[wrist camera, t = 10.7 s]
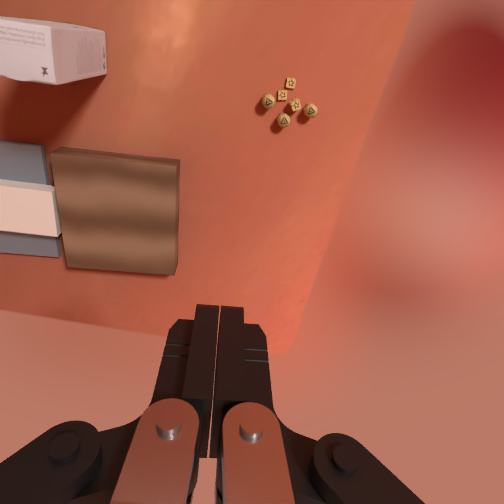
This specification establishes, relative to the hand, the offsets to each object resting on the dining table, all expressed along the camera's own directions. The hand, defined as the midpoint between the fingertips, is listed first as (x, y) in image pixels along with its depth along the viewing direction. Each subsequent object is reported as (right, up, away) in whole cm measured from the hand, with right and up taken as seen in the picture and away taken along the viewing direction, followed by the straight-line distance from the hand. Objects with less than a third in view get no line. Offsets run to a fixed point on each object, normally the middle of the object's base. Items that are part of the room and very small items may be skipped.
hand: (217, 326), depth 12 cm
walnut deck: (-15, +8, +35) cm, 39 cm away
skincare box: (-17, +24, +26) cm, 40 cm away
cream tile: (-28, +8, +33) cm, 44 cm away
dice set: (+5, +20, +30) cm, 37 cm away
